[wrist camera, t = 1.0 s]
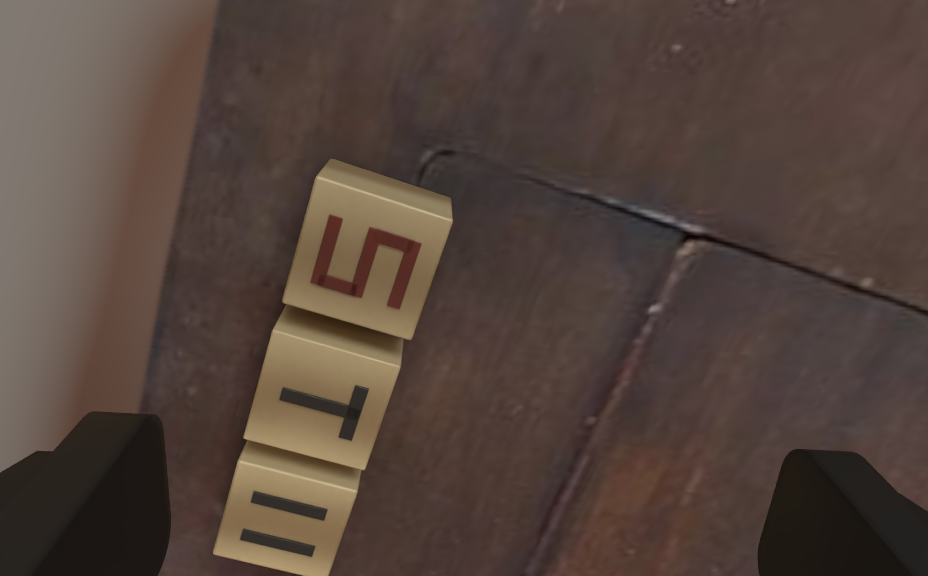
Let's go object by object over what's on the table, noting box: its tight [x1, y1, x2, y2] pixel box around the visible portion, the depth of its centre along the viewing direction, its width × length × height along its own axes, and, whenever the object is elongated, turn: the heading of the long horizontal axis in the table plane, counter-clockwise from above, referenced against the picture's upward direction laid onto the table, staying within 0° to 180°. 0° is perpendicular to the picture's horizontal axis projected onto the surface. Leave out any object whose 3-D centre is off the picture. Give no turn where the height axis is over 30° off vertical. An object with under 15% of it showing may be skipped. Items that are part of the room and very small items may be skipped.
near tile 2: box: [243, 304, 404, 470], centre depth 26 cm, size 4×4×3 cm
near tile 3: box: [213, 440, 361, 576], centre depth 27 cm, size 4×4×3 cm
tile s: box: [282, 159, 453, 340], centre depth 24 cm, size 4×4×3 cm
